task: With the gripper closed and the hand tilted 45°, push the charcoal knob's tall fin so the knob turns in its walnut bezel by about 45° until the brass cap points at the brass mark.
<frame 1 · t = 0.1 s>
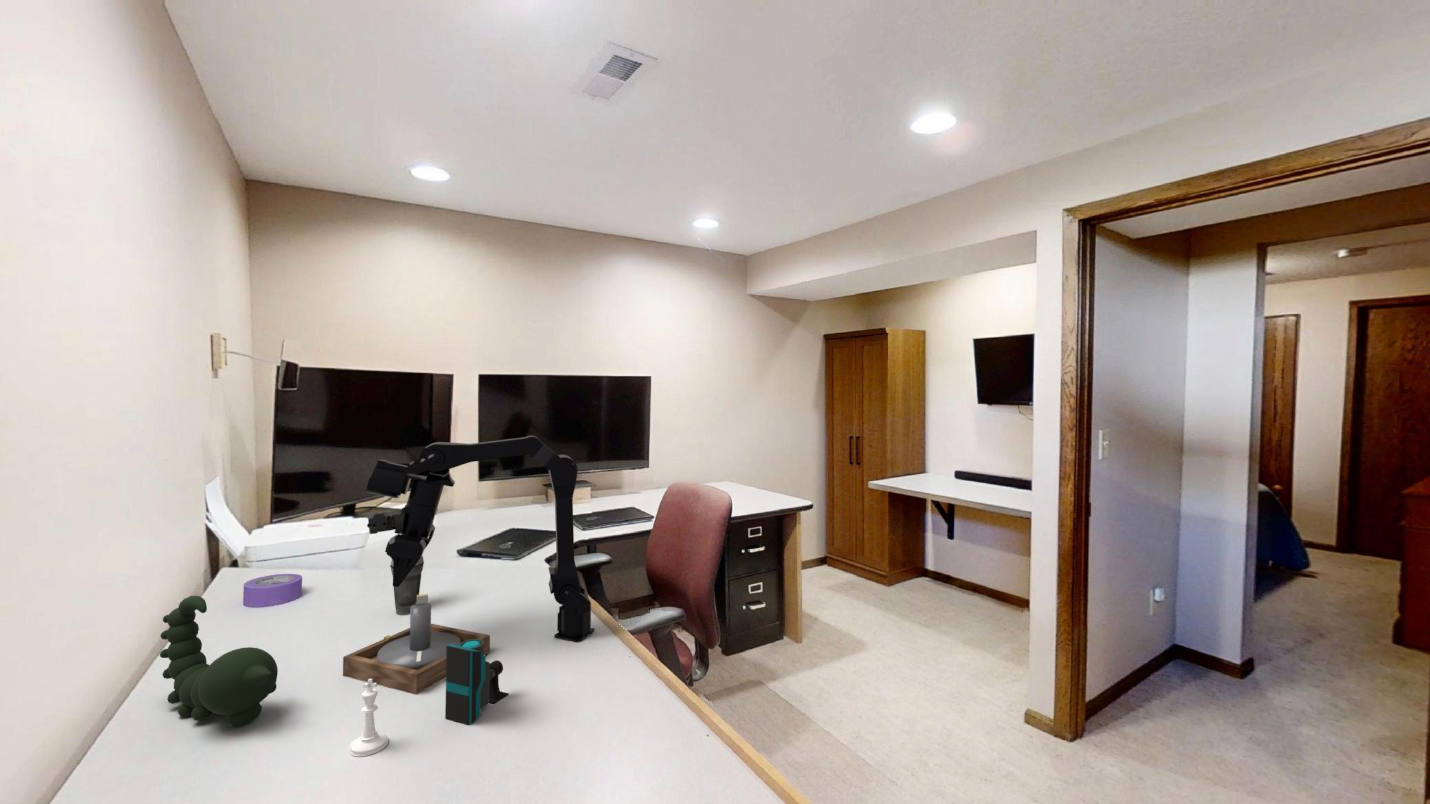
hand: (400, 579, 114), 15 cm above the table, tool pointing down, fingers open, 9 cm apart
knob: (420, 630, 111), point 7 cm above the table, hinge at 0.0°
beverage cup: (406, 612, 137), on the table
toy figurine: (219, 715, 92), on the table
surveillance camera: (479, 708, 96), on the table
dial base: (419, 663, 111), on the table
chess piece: (368, 747, 84), on the table
tape roll: (273, 600, 144), on the table
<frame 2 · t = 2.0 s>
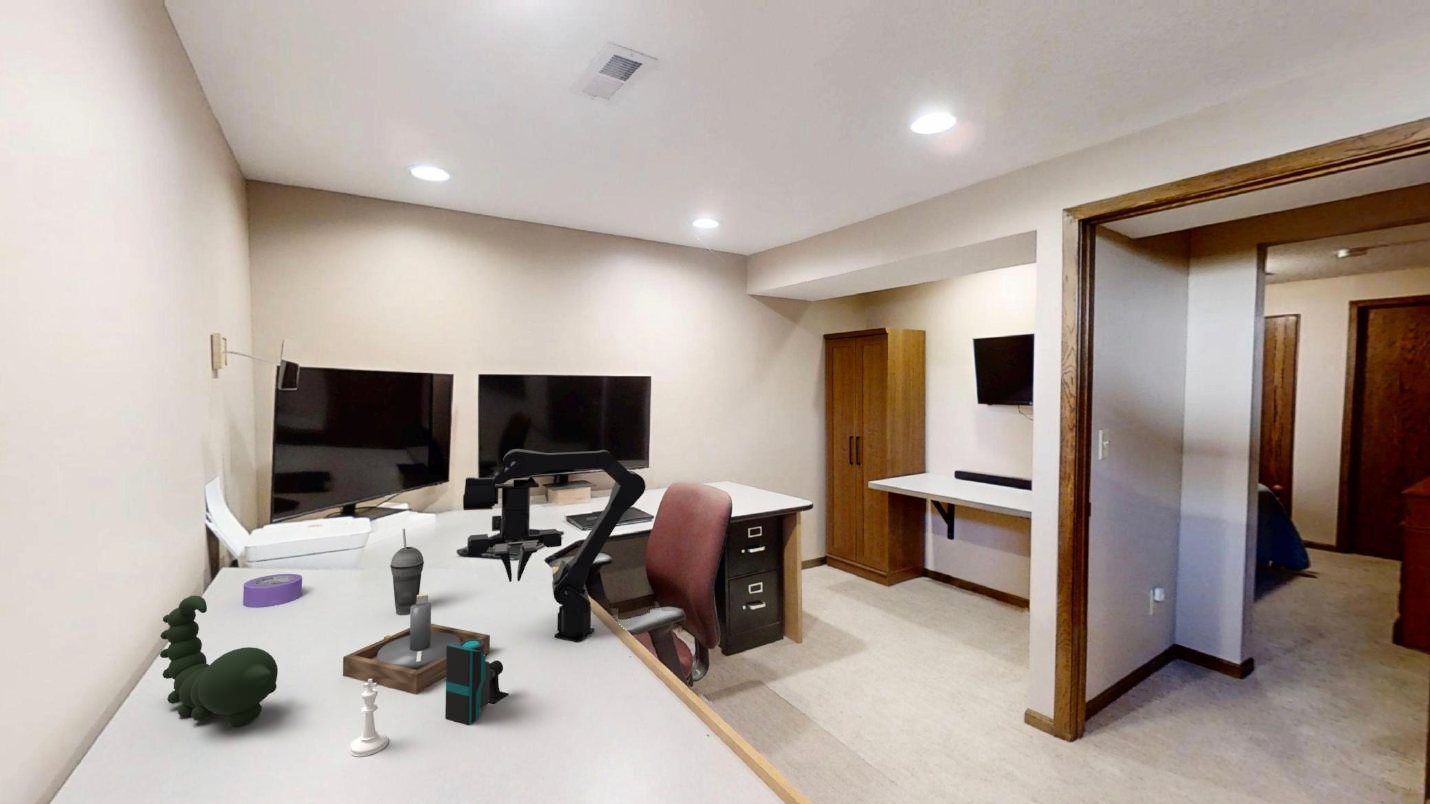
hand: (514, 581, 121), 13 cm above the table, tool pointing down, fingers closed
nothing on the table moved.
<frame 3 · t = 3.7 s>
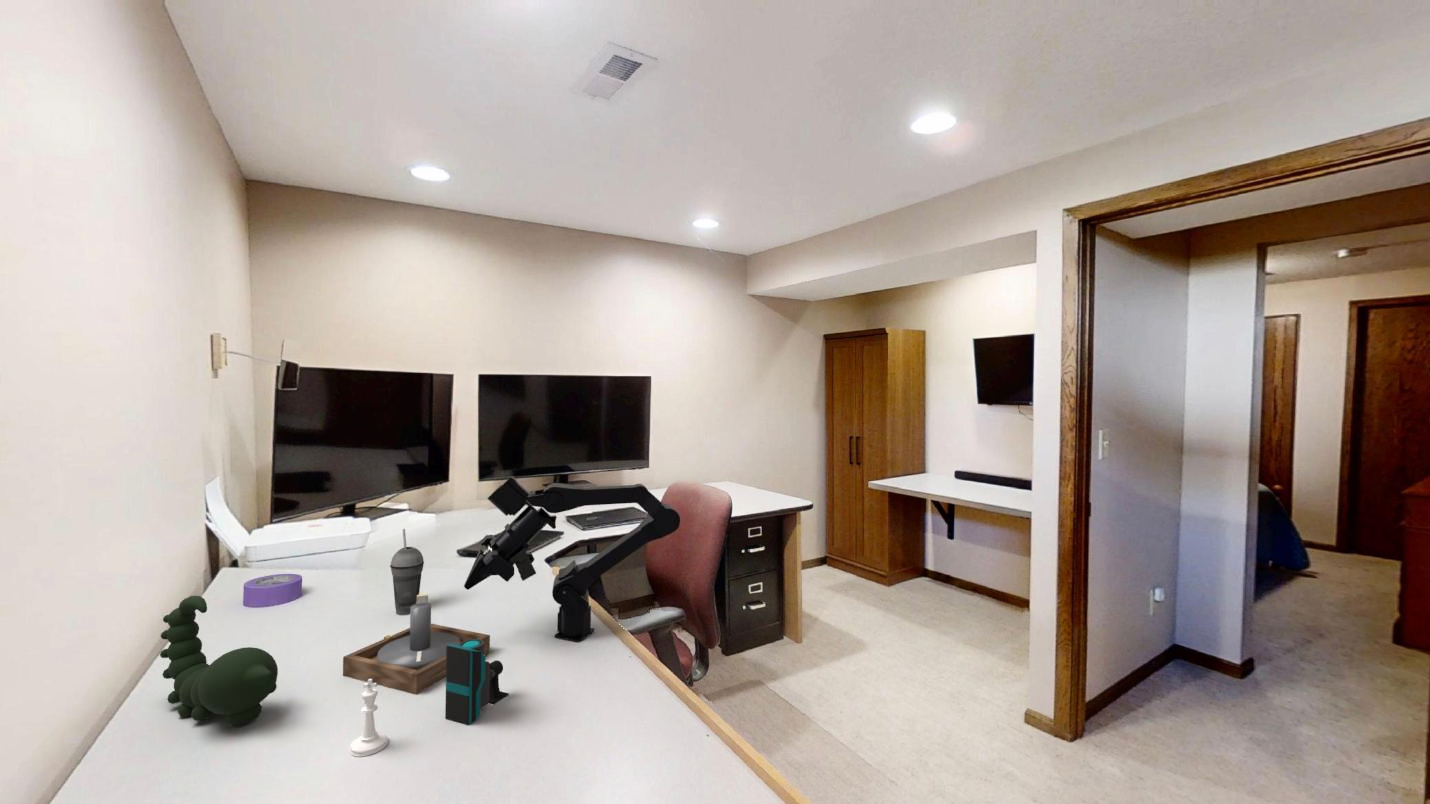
hand: (465, 588, 118), 13 cm above the table, tool tilted 45°, fingers closed
nothing on the table moved.
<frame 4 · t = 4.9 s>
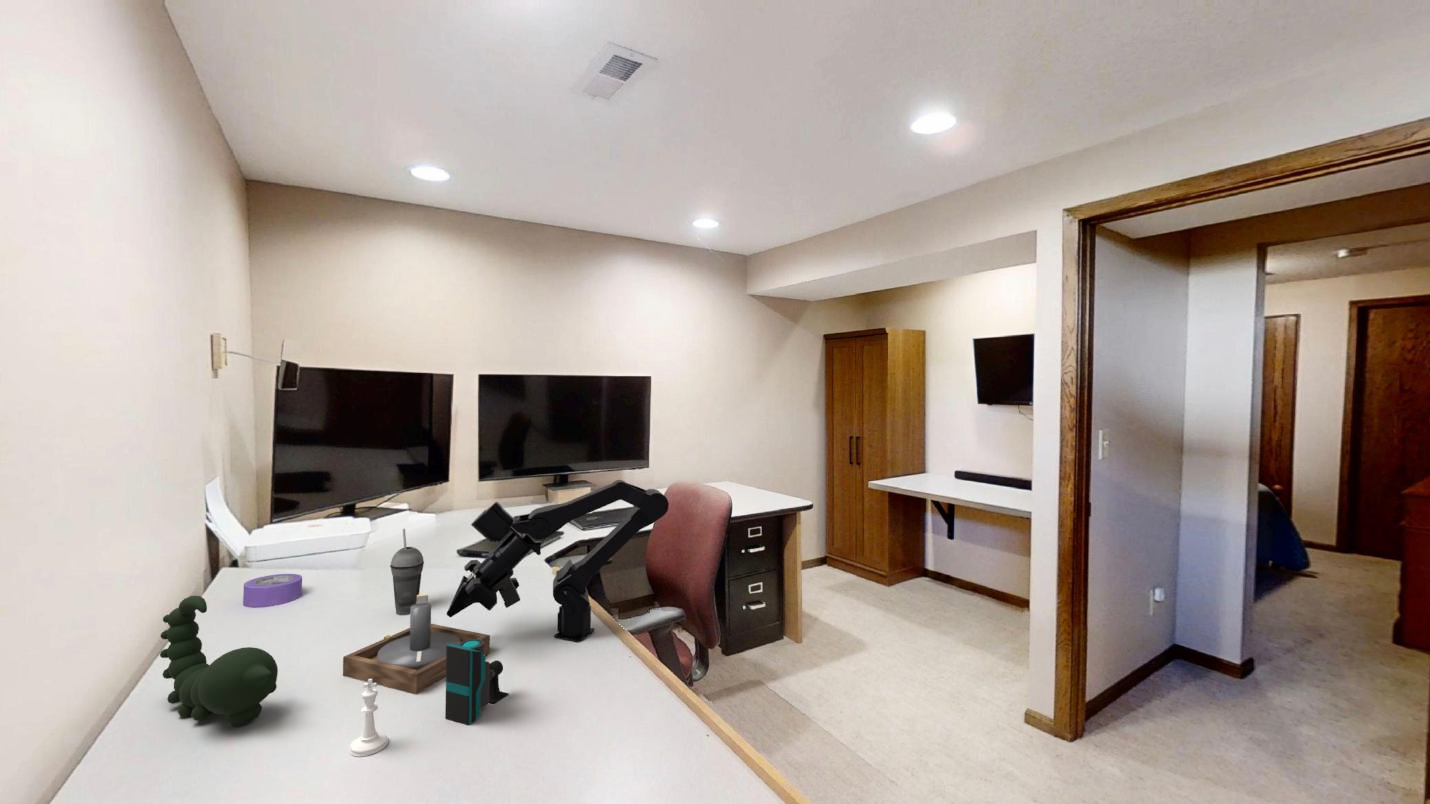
hand: (448, 615, 116), 7 cm above the table, tool tilted 45°, fingers closed
nothing on the table moved.
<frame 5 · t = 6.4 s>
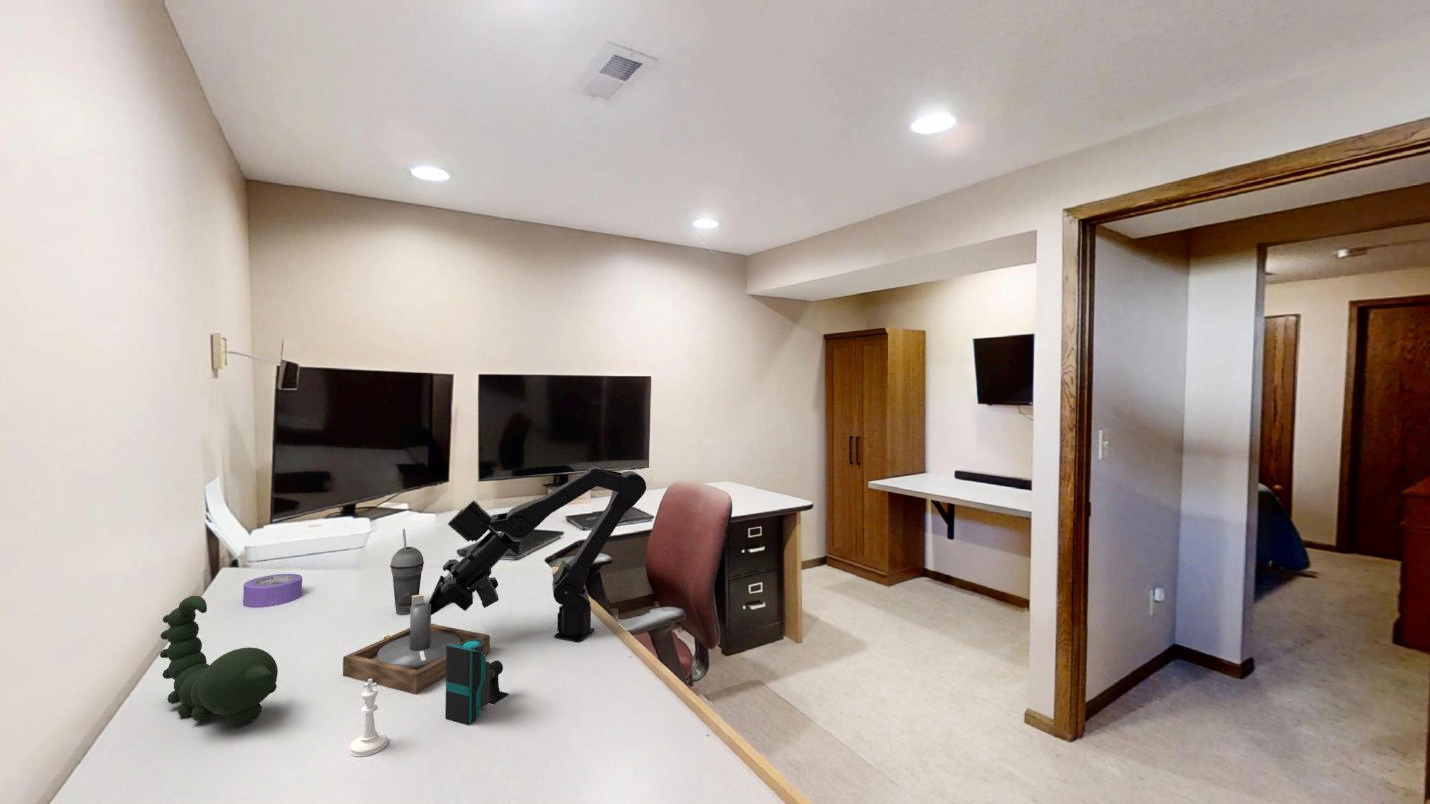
hand: (425, 616, 115), 8 cm above the table, tool tilted 45°, fingers closed, pressing on knob
knob: (420, 630, 111), point 7 cm above the table, hinge at 7.5°, touching gripper
everything else where it was.
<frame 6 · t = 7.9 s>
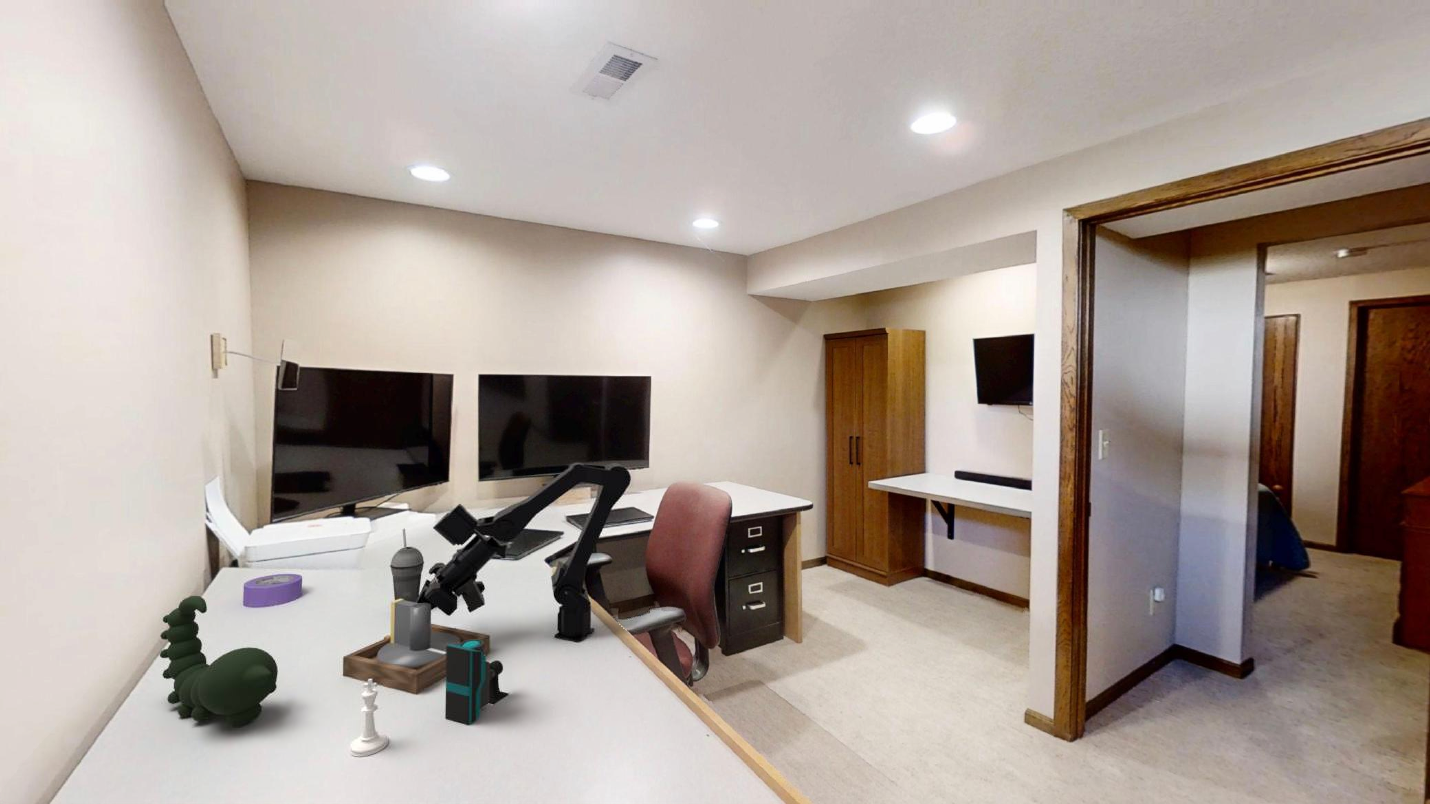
hand: (409, 620, 114), 7 cm above the table, tool tilted 45°, fingers closed
knob: (420, 630, 111), point 7 cm above the table, hinge at 42.1°, touching gripper
everything else where it was.
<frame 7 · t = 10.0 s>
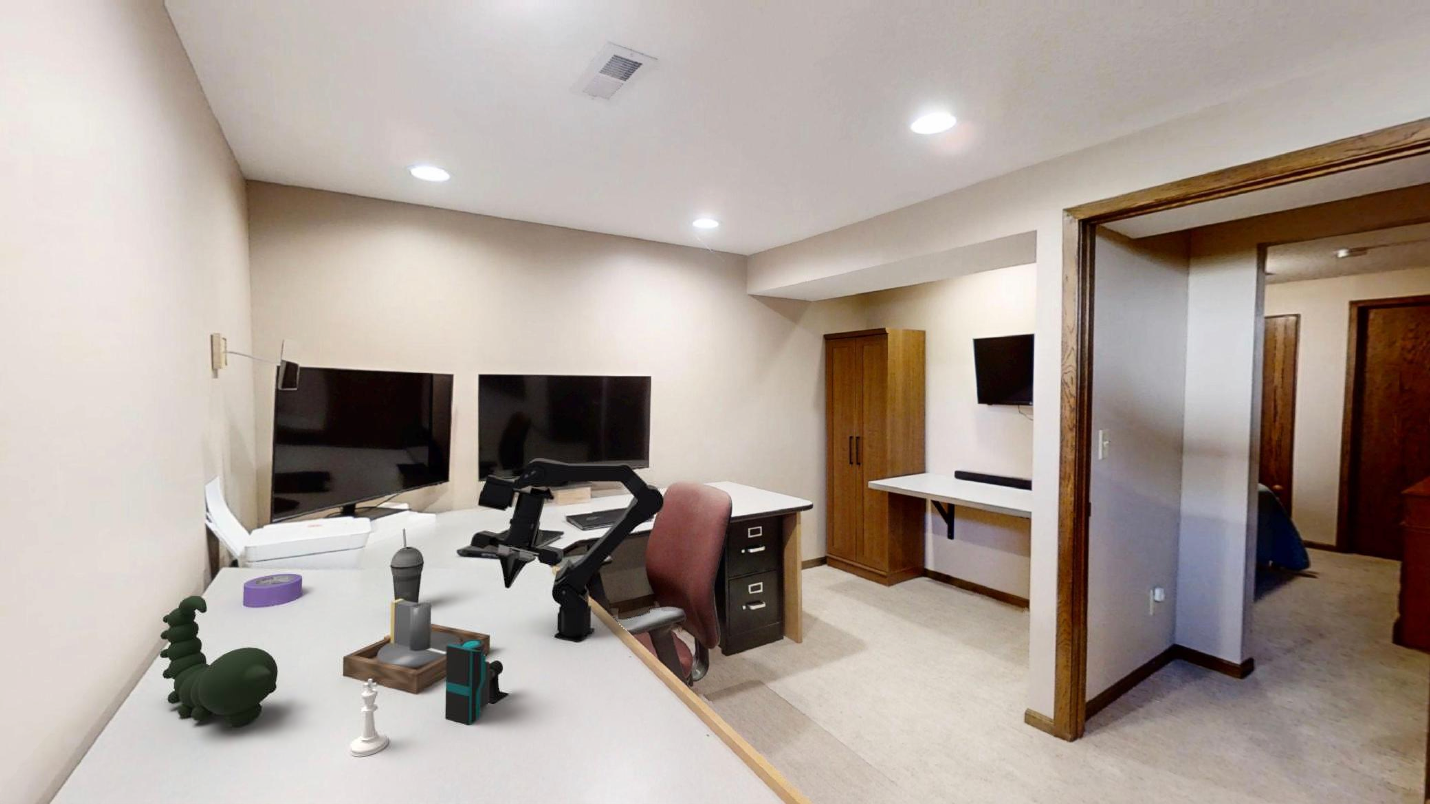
hand: (507, 587, 121), 12 cm above the table, tool pointing down, fingers closed
knob: (420, 630, 111), point 7 cm above the table, hinge at 42.2°
everything else where it was.
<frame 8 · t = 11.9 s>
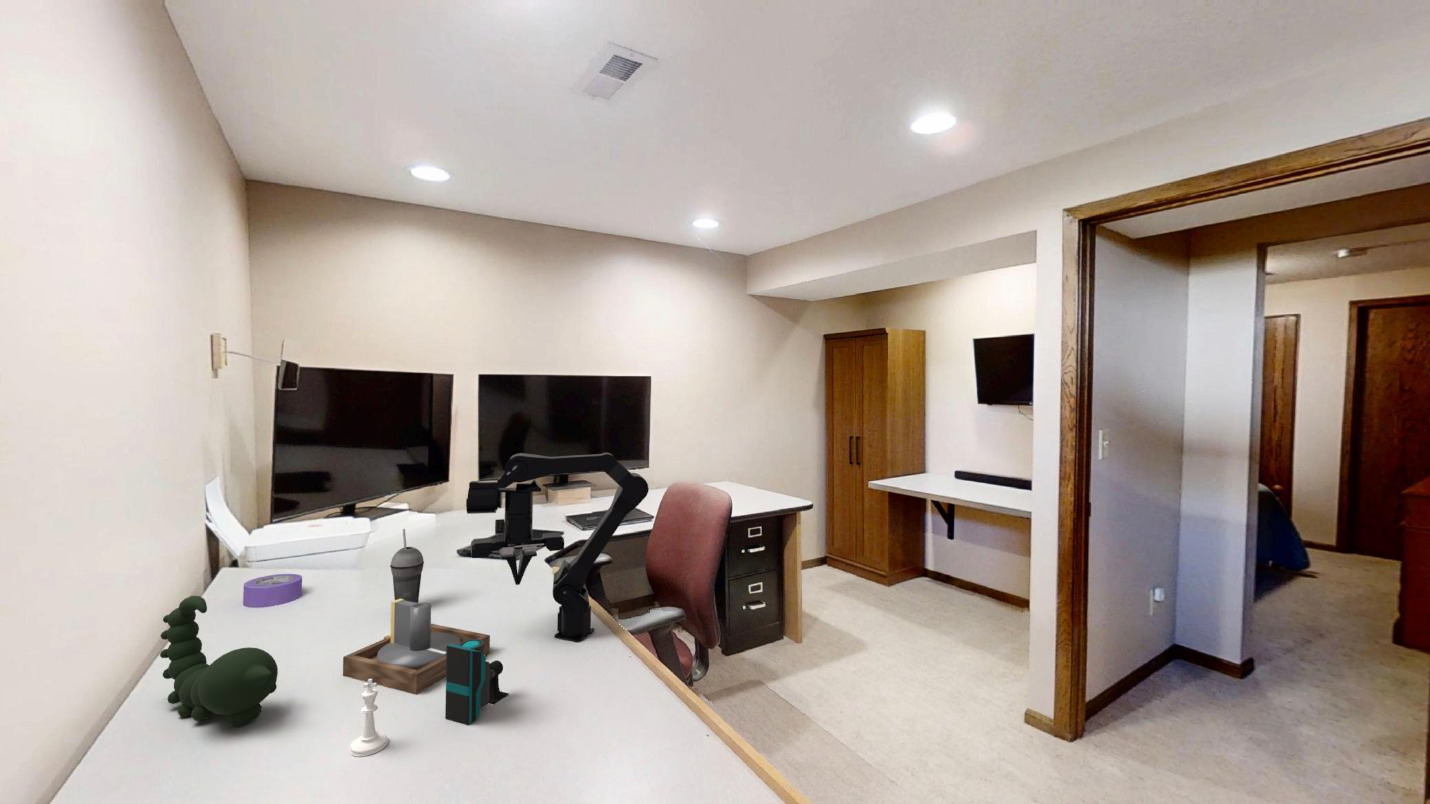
hand: (517, 584, 122), 12 cm above the table, tool pointing down, fingers closed
nothing on the table moved.
at the end: knob at +42° (first picture: +0°) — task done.
